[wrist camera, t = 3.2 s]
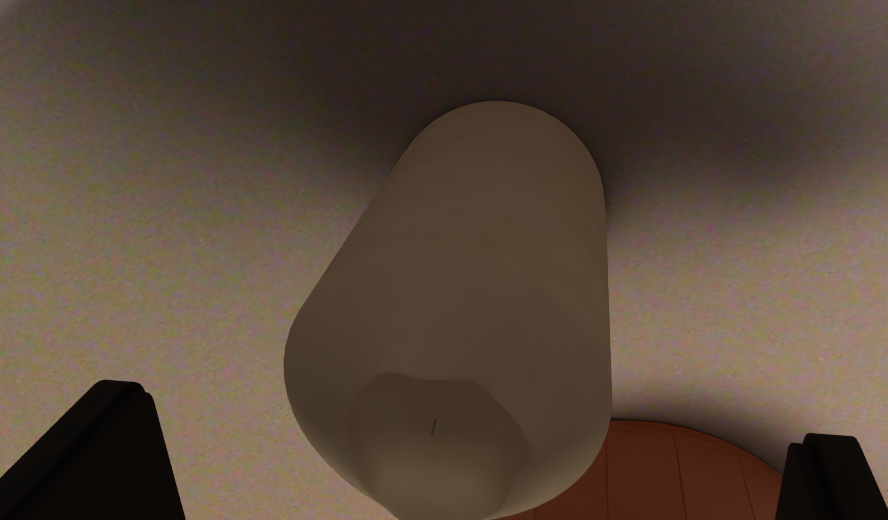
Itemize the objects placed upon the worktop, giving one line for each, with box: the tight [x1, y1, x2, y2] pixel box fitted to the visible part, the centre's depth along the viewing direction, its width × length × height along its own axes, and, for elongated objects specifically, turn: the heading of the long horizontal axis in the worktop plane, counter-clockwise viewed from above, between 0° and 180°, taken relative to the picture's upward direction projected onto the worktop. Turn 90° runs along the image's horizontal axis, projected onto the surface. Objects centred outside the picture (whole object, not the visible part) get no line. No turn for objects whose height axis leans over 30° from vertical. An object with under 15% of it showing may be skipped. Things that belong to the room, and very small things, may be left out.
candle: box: [284, 101, 612, 520], centre depth 16 cm, size 6×6×10 cm
